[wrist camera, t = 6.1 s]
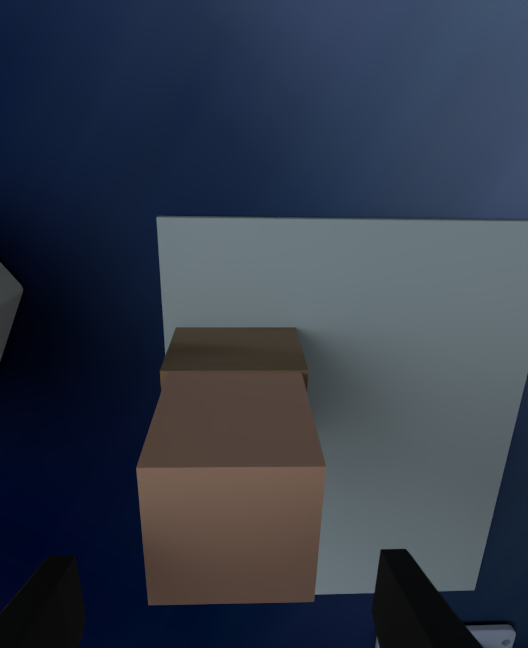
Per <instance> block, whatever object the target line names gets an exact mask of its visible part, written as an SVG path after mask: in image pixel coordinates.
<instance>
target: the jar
mask: <svg viewBox="0 0 528 648" xmlns="http://www.w3.org/2000/svg"><path fill="white" fill-rule="evenodd" d="M22 293H23V287H22V285H21V284H20V283H19V282H18V281H17V280H16V279H15V278H14V276H13V275H12V274H11V273H10V272H9V271H8V270H7V269H6V268H5V267H4V266H3V264H2V263H1V262H0V361H1V358H2V355H3V352H4V349H5V346H6V343H7V340H8V336H9V333H10V330H11V327H12V324H13V321H14V318H15V315H16V312H17V309H18V306H19V302H20V299H21V296H22Z"/></svg>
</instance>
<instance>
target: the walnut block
mask: <svg viewBox="0 0 528 648" xmlns="http://www.w3.org/2000/svg"><path fill="white" fill-rule="evenodd" d="M168 372H302V376H303V380H304V383H305V387H306V391H307V385H308V368H307V364H306V361H305V357H304V354H303V350H302V347H301V344H300V340H299V337H298V333H297V330H296V327H176V328H175V331H174V334H173V336H172V339H171V342H170V345H169V347H168V350H167V353H166V356H165V358H164V361H163V364H162V367H161V369H160V380H161V392H162V389H163V385H164V382H165V379H166V376H167V373H168Z"/></svg>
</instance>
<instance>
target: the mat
mask: <svg viewBox="0 0 528 648" xmlns="http://www.w3.org/2000/svg"><path fill="white" fill-rule="evenodd" d="M157 232H158V247H159V263H160V278H161V294H162V309H163V325H164V340H165V356H166V353H167V350H168V347H169V345H170V342H171V339H172V336H173V334H174V331H175V328H176V327H296V330H297V333H298V337H299V340H300V344H301V347H302V350H303V354H304V357H305V361H306V364H307V368H308V385H307V395H308V399H309V403H310V406H311V410H312V414H313V418H314V422H315V426H316V430H317V433H318V437H319V441H320V445H321V449H322V453H323V456H324V460H325V464H326V474H325V485H324V497H323V508H322V519H321V530H320V541H319V553H318V564H317V575H316V586H315V594H352V593H374V592H375V585H376V578H377V571H378V564H379V557H380V550H381V549H406V550H407V551H408V552H409V553H410V554H411V555H412V557H413V558H414V559H415V561H416V562H417V564H418V565H419V566H420V568H421V569H422V570H423V572H424V573H425V574H426V576H427V577H428V578H429V580H430V581H431V582H432V584H433V585H434V586H435V588H436V589H437V590H438V591H465V590H475V586H476V582H477V578H478V574H479V570H480V566H481V561H482V557H483V553H484V549H485V545H486V541H487V537H488V533H489V529H490V525H491V521H492V516H493V512H494V508H495V504H496V500H497V496H498V492H499V488H500V484H501V480H502V476H503V472H504V467H505V463H506V459H507V455H508V451H509V447H510V443H511V439H512V435H513V431H514V427H515V422H516V418H517V414H518V410H519V406H520V402H521V398H522V394H523V390H524V386H525V382H526V378H527V373H528V220H490V219H400V218H309V217H219V216H158V217H157Z"/></svg>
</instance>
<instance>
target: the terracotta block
mask: <svg viewBox="0 0 528 648" xmlns="http://www.w3.org/2000/svg"><path fill="white" fill-rule="evenodd" d="M136 469H137V481H138V492H139V504H140V515H141V526H142V538H143V549H144V561H145V572H146V584H147V595H148V605H184V604H232V603H280V602H314V597H315V586H316V575H317V564H318V553H319V541H320V530H321V519H322V508H323V497H324V485H325V474H326V464H325V460H324V456H323V453H322V449H321V445H320V441H319V437H318V433H317V430H316V426H315V422H314V418H313V414H312V410H311V406H310V403H309V399H308V395H307V391H306V387H305V383H304V380H303V376H302V372H168V373H167V376H166V379H165V382H164V385H163V389H162V392H161V395H160V398H159V401H158V404H157V407H156V410H155V413H154V416H153V419H152V422H151V425H150V428H149V431H148V434H147V437H146V440H145V443H144V446H143V449H142V452H141V455H140V458H139V461H138V465H137V468H136Z"/></svg>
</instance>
